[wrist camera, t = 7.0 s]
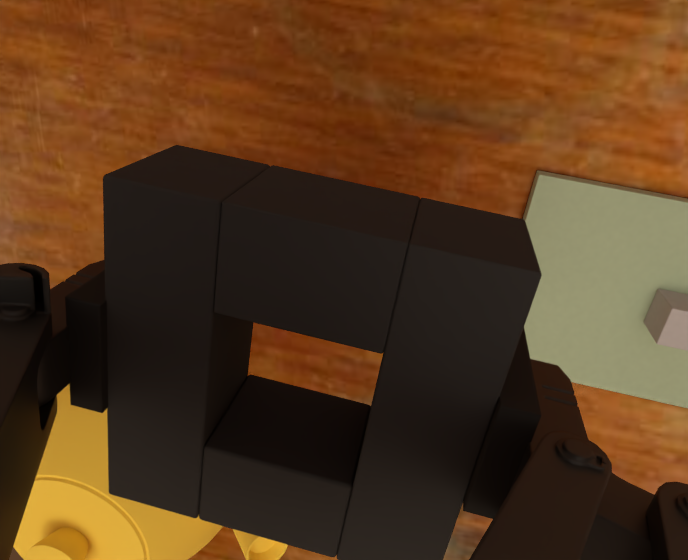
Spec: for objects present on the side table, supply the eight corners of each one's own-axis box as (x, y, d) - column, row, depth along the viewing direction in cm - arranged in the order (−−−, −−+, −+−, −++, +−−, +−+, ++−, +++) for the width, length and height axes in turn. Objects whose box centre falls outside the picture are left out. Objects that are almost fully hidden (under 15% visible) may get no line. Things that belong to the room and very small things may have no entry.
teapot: (325, 345, 38) (259, 498, 26) (322, 516, 45) (269, 704, 33) (55, 312, 42) (-116, 435, 29) (89, 477, 48) (-39, 634, 36)
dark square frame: (175, 143, 13) (100, 174, 10) (526, 219, 12) (543, 273, 10) (165, 418, 17) (107, 494, 14) (438, 491, 16) (433, 588, 13)
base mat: (537, 169, 31) (545, 186, 28) (892, 237, 29) (944, 262, 26) (482, 353, 36) (483, 385, 33) (780, 421, 35) (812, 461, 31)
